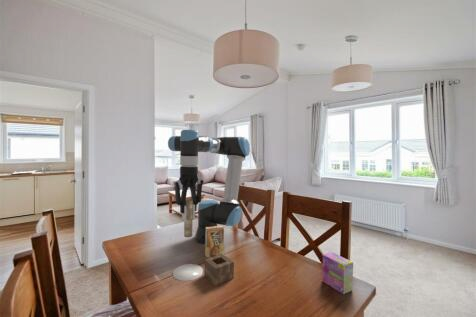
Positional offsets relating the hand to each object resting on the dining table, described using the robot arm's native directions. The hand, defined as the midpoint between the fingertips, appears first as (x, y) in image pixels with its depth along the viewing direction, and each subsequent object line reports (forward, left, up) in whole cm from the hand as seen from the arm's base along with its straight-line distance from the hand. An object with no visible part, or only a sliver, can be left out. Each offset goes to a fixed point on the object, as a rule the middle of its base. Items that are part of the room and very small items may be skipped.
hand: (188, 219), depth 98 cm
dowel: (0, 0, -7) cm, 7 cm away
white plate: (0, 0, -25) cm, 25 cm away
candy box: (-18, -7, -25) cm, 32 cm away
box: (-46, +44, -25) cm, 68 cm away
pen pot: (-9, +11, -25) cm, 28 cm away
